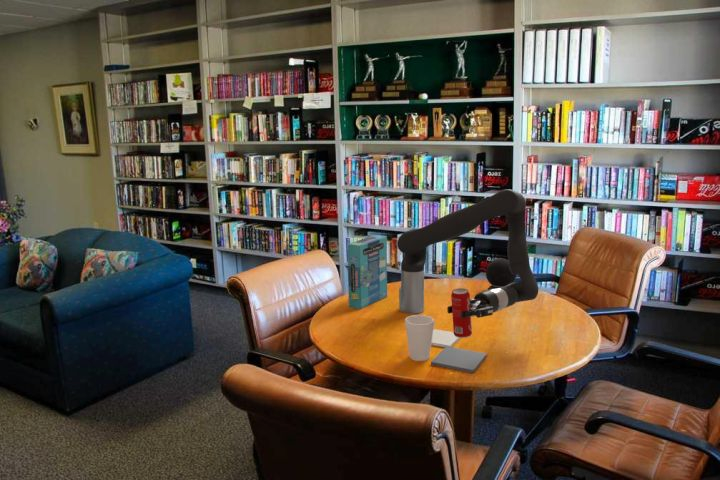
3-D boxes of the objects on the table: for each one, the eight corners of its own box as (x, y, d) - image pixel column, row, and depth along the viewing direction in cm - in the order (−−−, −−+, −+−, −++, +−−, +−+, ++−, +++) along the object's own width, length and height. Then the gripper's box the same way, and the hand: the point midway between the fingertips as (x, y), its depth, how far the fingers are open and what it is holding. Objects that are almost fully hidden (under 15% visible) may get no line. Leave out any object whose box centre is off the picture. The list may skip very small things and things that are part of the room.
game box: (375, 294, 260) (375, 234, 254) (387, 296, 256) (387, 236, 250) (348, 307, 244) (346, 243, 238) (360, 309, 240) (359, 245, 234)
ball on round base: (482, 294, 257) (483, 261, 254) (488, 285, 269) (489, 254, 266) (513, 297, 252) (514, 263, 249) (517, 288, 264) (519, 256, 261)
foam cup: (403, 352, 198) (403, 315, 195) (430, 350, 198) (430, 314, 196) (407, 363, 188) (407, 325, 186) (436, 362, 189) (436, 324, 186)
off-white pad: (417, 342, 206) (417, 339, 205) (430, 331, 216) (430, 328, 216) (450, 348, 200) (450, 345, 200) (461, 336, 210) (461, 333, 210)
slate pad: (431, 364, 188) (431, 361, 187) (446, 348, 200) (446, 346, 199) (473, 373, 181) (473, 370, 181) (486, 356, 193) (486, 353, 193)
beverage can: (471, 339, 185) (472, 294, 181) (450, 338, 186) (450, 293, 182) (471, 331, 190) (472, 287, 186) (451, 330, 191) (451, 287, 188)
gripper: (475, 285, 200) (438, 296, 190) (508, 295, 188) (472, 307, 179) (474, 306, 201) (438, 318, 192) (508, 317, 190) (471, 330, 180)
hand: (455, 312), depth 185 cm, fingers closed on beverage can, 5 cm apart
